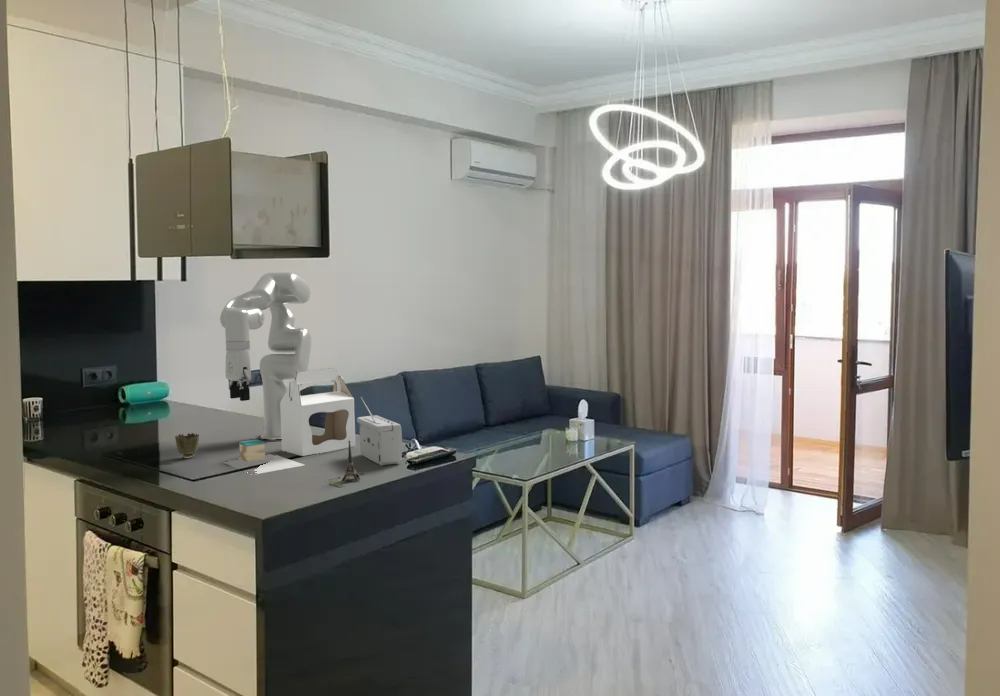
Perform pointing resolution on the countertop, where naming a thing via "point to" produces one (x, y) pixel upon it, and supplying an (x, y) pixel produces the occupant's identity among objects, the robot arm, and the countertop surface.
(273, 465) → the mat
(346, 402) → the gable box
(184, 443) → the cup
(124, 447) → the countertop surface
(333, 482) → the eiffel tower figurine
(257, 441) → the block
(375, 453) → the stereo radio cassette player
